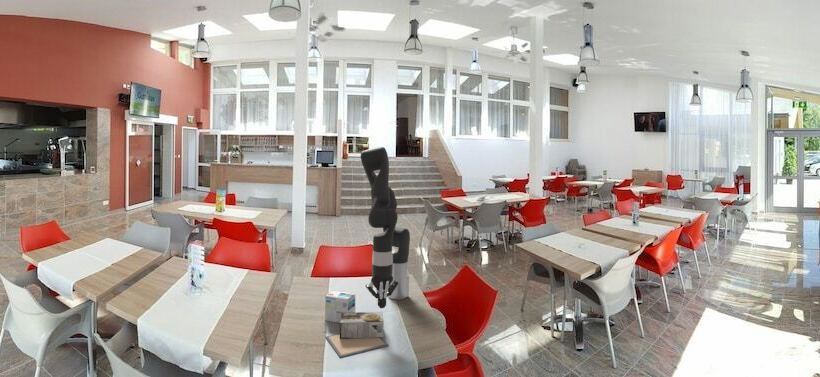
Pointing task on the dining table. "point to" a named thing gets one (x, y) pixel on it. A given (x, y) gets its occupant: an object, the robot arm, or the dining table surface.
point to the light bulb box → (338, 305)
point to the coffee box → (361, 325)
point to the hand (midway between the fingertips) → (381, 307)
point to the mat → (354, 344)
